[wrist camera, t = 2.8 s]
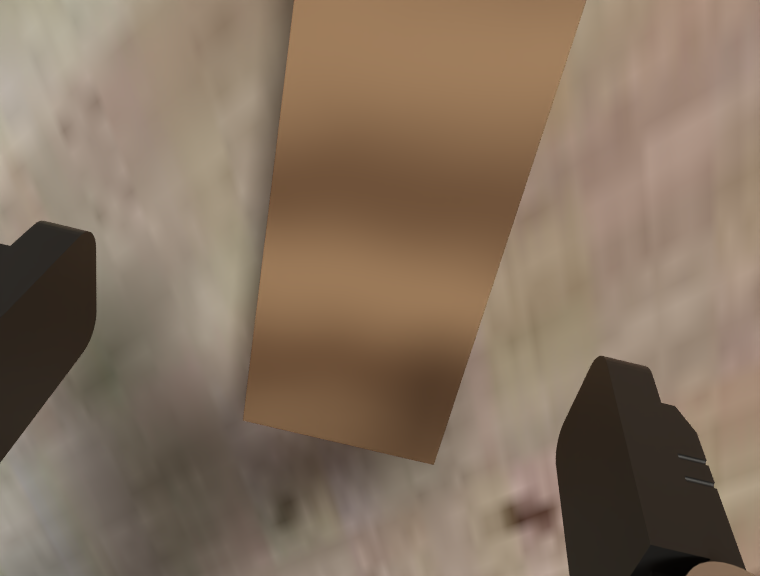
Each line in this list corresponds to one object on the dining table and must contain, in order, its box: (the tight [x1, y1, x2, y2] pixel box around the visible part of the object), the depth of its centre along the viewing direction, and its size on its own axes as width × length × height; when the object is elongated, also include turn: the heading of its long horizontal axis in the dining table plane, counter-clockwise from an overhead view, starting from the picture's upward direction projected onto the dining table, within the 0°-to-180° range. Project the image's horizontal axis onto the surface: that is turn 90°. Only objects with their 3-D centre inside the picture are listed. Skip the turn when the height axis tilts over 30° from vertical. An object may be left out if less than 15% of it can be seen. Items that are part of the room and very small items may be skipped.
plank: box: [243, 0, 586, 465], centre depth 20 cm, size 18×6×5 cm, turn 169°
